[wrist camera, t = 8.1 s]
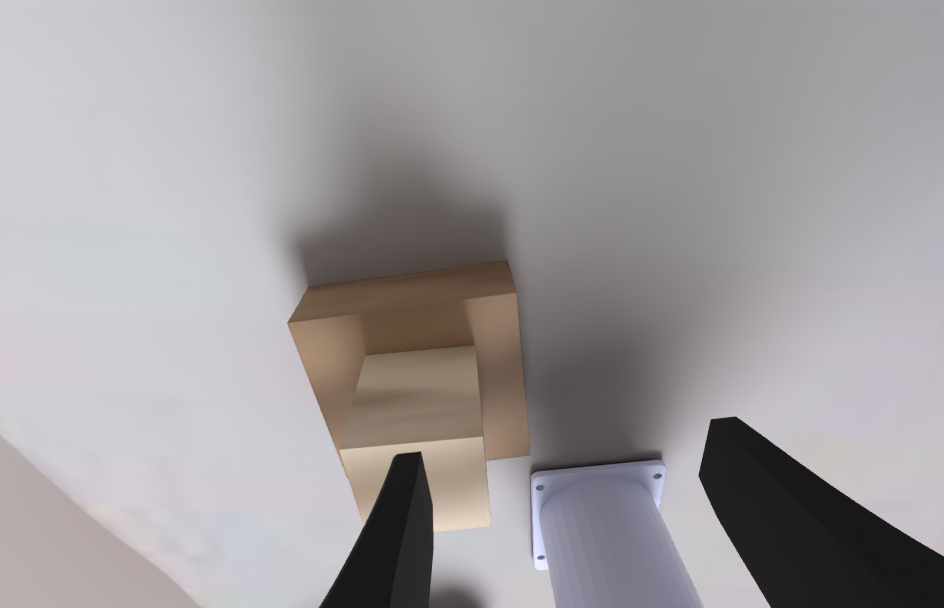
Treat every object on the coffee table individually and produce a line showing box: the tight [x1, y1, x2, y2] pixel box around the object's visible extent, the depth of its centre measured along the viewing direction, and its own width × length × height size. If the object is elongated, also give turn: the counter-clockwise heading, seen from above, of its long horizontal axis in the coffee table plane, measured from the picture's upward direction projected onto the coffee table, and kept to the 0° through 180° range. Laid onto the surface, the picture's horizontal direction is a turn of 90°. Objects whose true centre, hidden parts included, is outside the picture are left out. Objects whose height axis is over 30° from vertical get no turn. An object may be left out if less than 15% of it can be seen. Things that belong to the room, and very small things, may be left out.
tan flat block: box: [287, 261, 530, 478], centre depth 21 cm, size 9×9×4 cm
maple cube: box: [339, 345, 491, 532], centre depth 17 cm, size 4×4×5 cm
